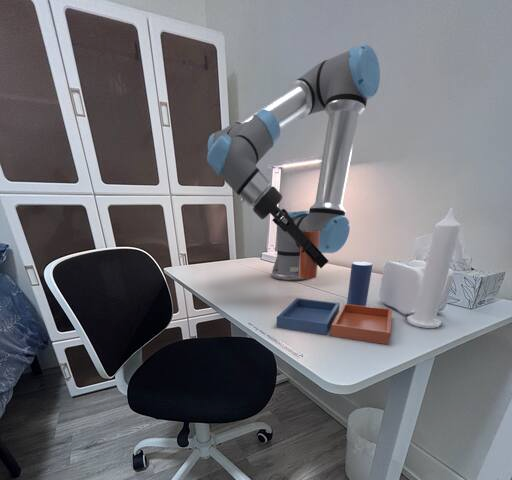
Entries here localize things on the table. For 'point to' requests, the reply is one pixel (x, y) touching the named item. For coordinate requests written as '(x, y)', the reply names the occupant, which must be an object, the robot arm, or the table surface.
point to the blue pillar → (359, 283)
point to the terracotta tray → (363, 323)
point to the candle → (436, 272)
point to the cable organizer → (407, 285)
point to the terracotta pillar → (306, 263)
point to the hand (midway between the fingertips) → (322, 262)
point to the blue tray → (308, 316)
